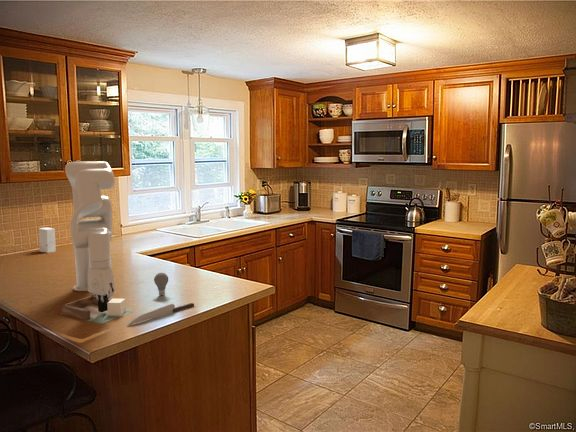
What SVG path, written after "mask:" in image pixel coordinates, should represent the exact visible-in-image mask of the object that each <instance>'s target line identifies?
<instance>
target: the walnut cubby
mask: <svg viewBox="0 0 576 432" xmlns="http://www.w3.org/2000/svg"><path fill="white" fill-rule="evenodd" d="M111 299H112V298H109V300H108V302H109V301H110V300H111ZM60 307H61V313H60V315H64V316H68V317H72V318H76V319H79V320H83V321H87V322H90V323H91V322H92V323H95V324H99V325H102V324H104V323H107V322H110V321H113V320H115V319H119V318H120V317H123V316H125V315H127V314H128V315H129V314H130V313H134V312H135V309H134V310H133V309H129V308H126V312H125V313H123V314H122V315H121V316H110V315H108V310H107V311H104V312H99V311H98V301H97V300H96V296H95V295H93V294H91V295H89V296H86V297H83V298H80V299H77V300H74V301H70V302H67V303H64V304H61V306H60Z"/></svg>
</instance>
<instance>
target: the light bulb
mask: <svg viewBox="0 0 576 432" xmlns="http://www.w3.org/2000/svg"><path fill="white" fill-rule="evenodd" d="M153 281H154V284H155V286H156V288H157V290H158V295H159V296H164V295H166V288H167V287H166V286H167V284H168V282H169V276H168V275H167V274H166V273H165V272H158V273H157V274H156V275H155V276H154V279H153Z"/></svg>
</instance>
